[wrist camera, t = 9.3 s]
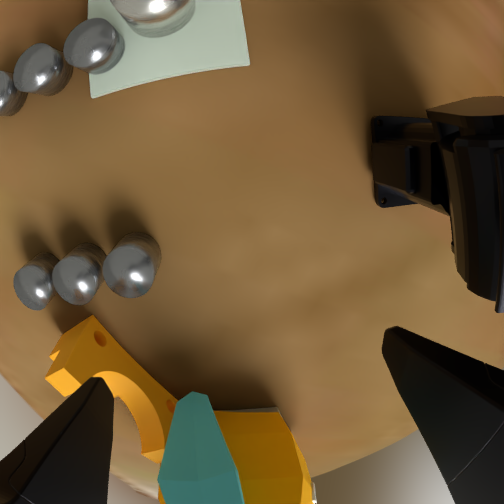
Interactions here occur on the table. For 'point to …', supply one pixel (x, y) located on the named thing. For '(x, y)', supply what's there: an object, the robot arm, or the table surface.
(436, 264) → the table surface
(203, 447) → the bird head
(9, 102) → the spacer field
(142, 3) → the stepped steel cylinder
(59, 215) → the table surface
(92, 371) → the pipe clamp
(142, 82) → the sage mat
